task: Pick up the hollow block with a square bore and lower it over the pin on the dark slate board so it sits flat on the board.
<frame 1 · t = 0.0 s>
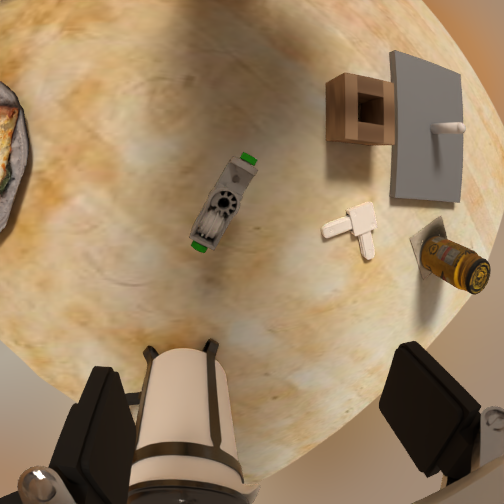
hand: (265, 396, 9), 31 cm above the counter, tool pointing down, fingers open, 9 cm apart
mechanical component: (219, 192, 38), on the counter
corner connector: (348, 235, 43), on the counter
coffee press: (179, 372, 45), on the counter
pin board: (427, 128, 39), on the counter
hollow block: (349, 114, 37), on the counter
condiment: (431, 247, 45), on the counter
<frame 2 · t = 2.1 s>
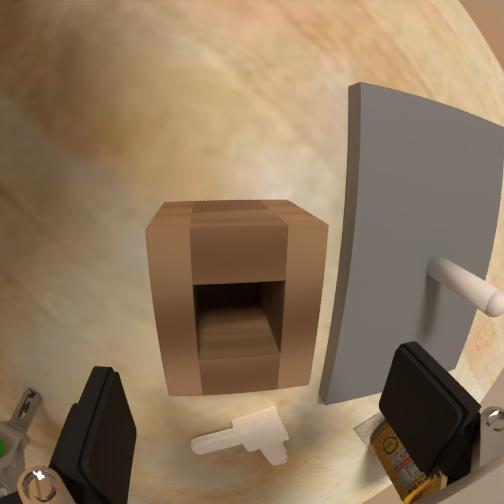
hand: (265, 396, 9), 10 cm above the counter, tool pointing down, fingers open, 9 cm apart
mechanical component: (34, 393, 19), on the counter
corner connector: (243, 439, 24), on the counter
pin board: (422, 258, 20), on the counter
hollow block: (227, 269, 18), on the counter
condiment: (392, 423, 27), on the counter
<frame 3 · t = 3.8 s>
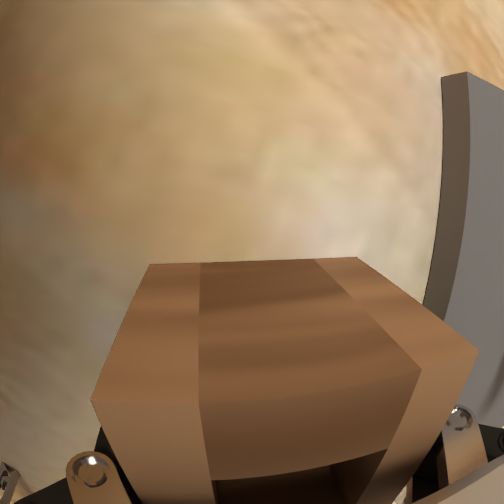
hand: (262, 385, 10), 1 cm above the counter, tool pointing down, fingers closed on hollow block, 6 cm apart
mechanical component: (11, 467, 12), on the counter
pin board: (500, 316, 13), on the counter
hollow block: (256, 364, 11), on the counter, touching gripper
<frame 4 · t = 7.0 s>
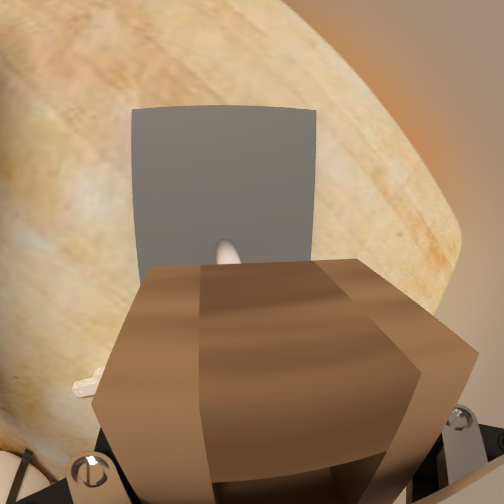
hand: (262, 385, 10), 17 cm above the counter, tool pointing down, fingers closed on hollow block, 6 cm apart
corner connector: (113, 392, 29), on the counter
coffee press: (20, 462, 32), on the counter
pin board: (224, 243, 26), on the counter
hollow block: (256, 365, 11), point 16 cm above the counter, touching gripper
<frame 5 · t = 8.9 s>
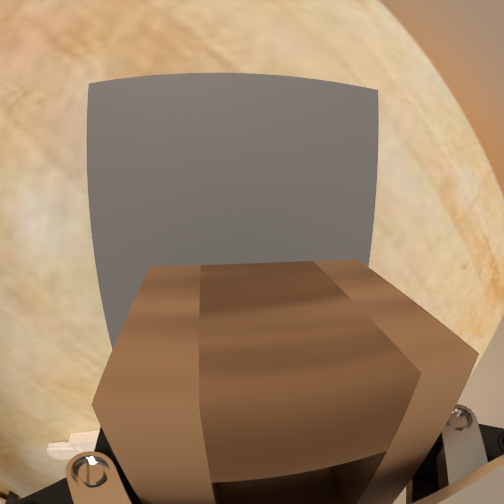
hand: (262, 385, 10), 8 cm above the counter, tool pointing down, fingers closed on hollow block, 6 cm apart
corner connector: (97, 455, 21), on the counter
coffee press: (7, 500, 23), on the counter
pin board: (235, 290, 17), on the counter
hollow block: (256, 365, 11), point 6 cm above the counter, touching gripper
when the fingers open (4 cm above the counter, at t = 10.5 s): hollow block drops 2 cm, resting on pin board.
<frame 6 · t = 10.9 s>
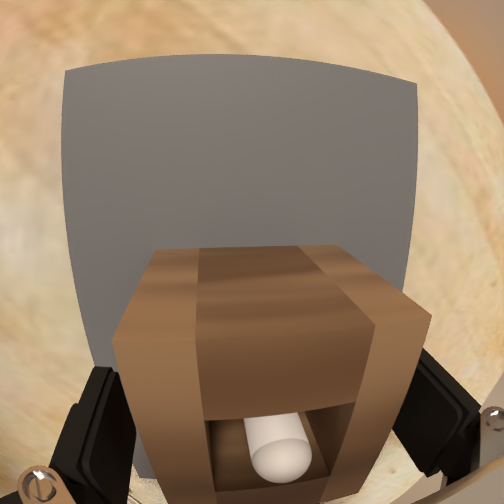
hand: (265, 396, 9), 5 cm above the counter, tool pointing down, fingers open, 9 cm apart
pin board: (245, 322, 14), on the counter
hollow block: (248, 340, 13), point 1 cm above the counter, touching pin board
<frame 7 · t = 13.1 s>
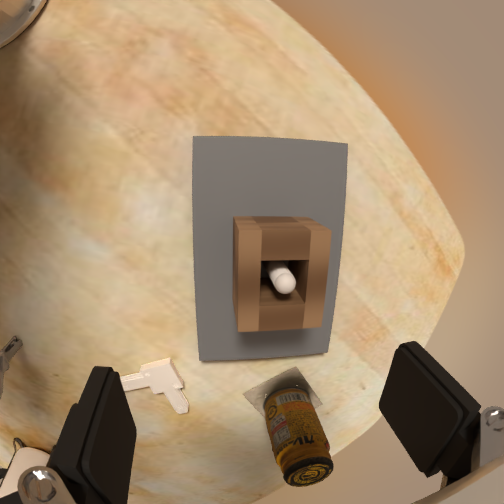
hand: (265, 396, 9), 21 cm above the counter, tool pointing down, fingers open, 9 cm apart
mechanical component: (18, 340, 29), on the counter
corner connector: (155, 386, 34), on the counter
coffee press: (45, 459, 36), on the counter
pin board: (267, 254, 30), on the counter
hollow block: (269, 259, 29), point 1 cm above the counter, touching pin board
condiment: (283, 398, 36), on the counter
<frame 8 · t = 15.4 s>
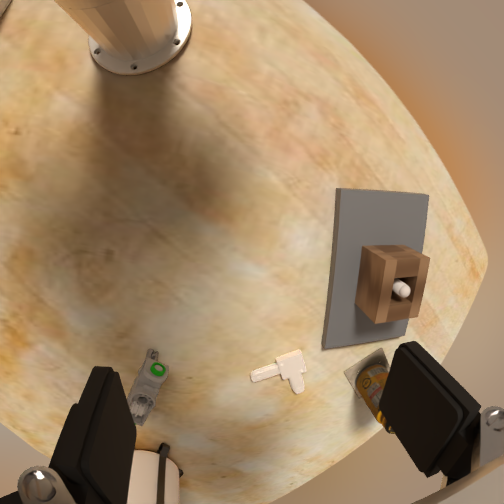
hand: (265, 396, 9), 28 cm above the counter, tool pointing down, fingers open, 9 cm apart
mechanical component: (152, 352, 40), on the counter
corner connector: (279, 374, 45), on the counter
coffee press: (143, 459, 47), on the counter
pin board: (375, 269, 41), on the counter
hollow block: (380, 273, 40), point 1 cm above the counter, touching pin board
condiment: (369, 372, 47), on the counter
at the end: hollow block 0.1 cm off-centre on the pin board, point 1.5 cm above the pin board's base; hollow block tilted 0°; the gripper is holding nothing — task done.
